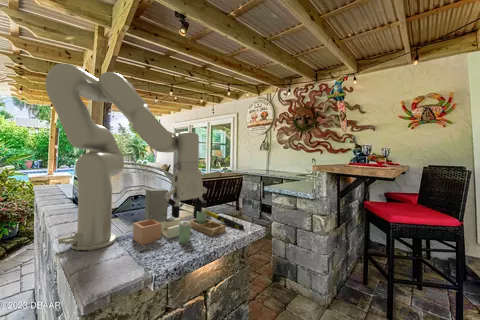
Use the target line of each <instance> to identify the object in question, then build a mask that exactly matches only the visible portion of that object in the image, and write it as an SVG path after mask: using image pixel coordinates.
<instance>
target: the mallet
mask: <svg viewBox="0 0 480 320" xmlns="http://www.w3.org/2000/svg"><path fill="white" fill-rule="evenodd" d="M207 203H208V202H207V200H205V199H203V201H202V208H205V209H206V216H209V217H211V218H213V219H215V220H217V221H218V222H219V221H220V222H221V223H222V224H224V225H226V226H229V227H231V228H235V229H236V230H240V231H243V230H244V227H245V226H244V224H241V223H239V222H236V221H234V220H232V219H230V218H228V217H225V216H222V215H219V214H216V213H214V212H212V211H210V210H207V206H208V205H207ZM193 216H194V217H195V218H194V217H193ZM192 217H193V218H194V219H197V211H195V205H194V206H193V214H192Z"/></svg>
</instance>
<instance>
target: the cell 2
mask: <svg viewBox="0 0 480 320" xmlns="http://www.w3.org/2000/svg"><path fill="white" fill-rule="evenodd" d="M206 210H207V208H206V209H205V208H202V212H198V211H197V218H196V219H197V222H196V223H198V224H203V223H206V219H207V215H206Z"/></svg>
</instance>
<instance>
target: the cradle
mask: <svg viewBox="0 0 480 320" xmlns="http://www.w3.org/2000/svg"><path fill="white" fill-rule="evenodd" d="M181 221H182V218H181V217H179V218H174V217H167V219H165V221H163V222H159V223H161V236H163V237H165V238H166V239H171V238H175V237H179V224H180V222H181ZM190 224H191V222H190ZM174 225H176V226H174ZM171 226H172V227H171ZM167 227H168V228H167ZM166 228H167V231H166ZM191 232H192V227H190V233H191Z"/></svg>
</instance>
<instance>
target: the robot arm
mask: <svg viewBox="0 0 480 320" xmlns="http://www.w3.org/2000/svg"><path fill="white" fill-rule="evenodd" d="M46 74H47V75H46V76H45V77H46V78H45V83H44V84H45V90H46V95H47V96H48V98H49V101H50V103H51V104H52V107H53V108H54V110H55V112H56V114H57V117H58V120H59V122H60V124H61V127H62V129H63V130H64V133H65V136H66V138H67V140H68V142H69V143H70V145H71V146H72V147H73V148H75V149H78V150H82V151H83V150H85V151H88V152H86V153H84V154H82V155H81V156H79V158H78V159H77V160H76V163H75V167H74V168H75V174H76V175H75V176H76V179H77V192H78V193H77V194H78V195H77V199H78V200H77V202H78V203H77V230H75V231H74V233H73V234H70V235H69V236H62V237H58V238H57V243H58V245H62V244H64V246H66V245H70V248H71V249H72V250H74V249H75V250H74V251H78V250H84V252H85V250H88V251H93V250H94V251H95V250H99V249H103V248H106V247H108V246H110V245H112V244H113V243H114V242H116V239H117V236H116V235H115V234H114V233H112V213H113V212H112V211H113V210H112V209H113V186H112V182H111V177H115V176H117V175H119V174H120V173H122V171H123V170H124V167H125V161H124V157H123V155H122V151H121V150H120V148H119V145H118V143H117V140H116V138H115V136H114V135H113V133H112V131H110V130H109V129H108V128H107V127H105V126H103V125H100V124H98V123H97V124H96V123H95V121H94V119H93V117H92V116H91V114H90V111H89V109H88V107H87V105H86V104H85V102H84V101H83V100H82V98H85V99H86V100H88V101H89V100H90V101H94V102H99V103H100V102H101V103H110V104H112V105H114V106H115V108H117V109H118V110H119V111H120V113H122V115H123V116H124V117H125V118H126V120H127V121H128V122H129V124H130V125H131V127H132V128H133V130H134V131H135V132H136V133H137V135H138V136H139V137H140V138H141V139H142V140H143V141H144V142H145V144H147V145H148V146H149V147H150V148H151V149H153V150H154V151H156V152H159V153H176V163H174V164H173V166H174V167H173V168H175V169H176V170H175V172H174V176H173V183H172V189H170V190H168V192H167V193H166V194H165V198H166V200H167V202H168V204H169V205H170V206H171V217H172V218H174V219H176V218H180V206H178V205H179V204H180V202H181V201H187V200H188V201H189V200H194V199H195V201H194V206H195V211H198V212H202V201H203V200H204V198H205V197H206V195H207V192H208V188H207V187H205V186H203V177H202V172H201V170H200V169H199V162H200V160H199V159H200V155H199V153H200V136H199V134H198V133H197V132H192V131H181V132H178V133H175V132H172V131H169V130H167V129H166V128H165V126H164V125H162V124H161V122H160V121H159V120H158V119H157V117H156V116H155V115H154V114H153V113H152V112H151V110H150V105H149V104H148V103H147V101H146V100H145V99H144V98H143V97H142V96H141V95H139V93H138V92H137V91H136V88H135V87H134V85H133V84H132V82H129V81H128V80H127V79H126V78H124V76H122V75H121V74H119V73H116V72H114V71H106V72H103V73H102V74H101V75H99V77H98V78H97V77H95V76H93V75H92V74H90V73H89V72H87V71H85V70H84V69H82V68H80V67H78V66H76V65H73V64H71V63H58V64H55V65H54V66H53V67H51V68H50V69H49V71H48V73H46ZM172 197H173V198H172Z"/></svg>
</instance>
